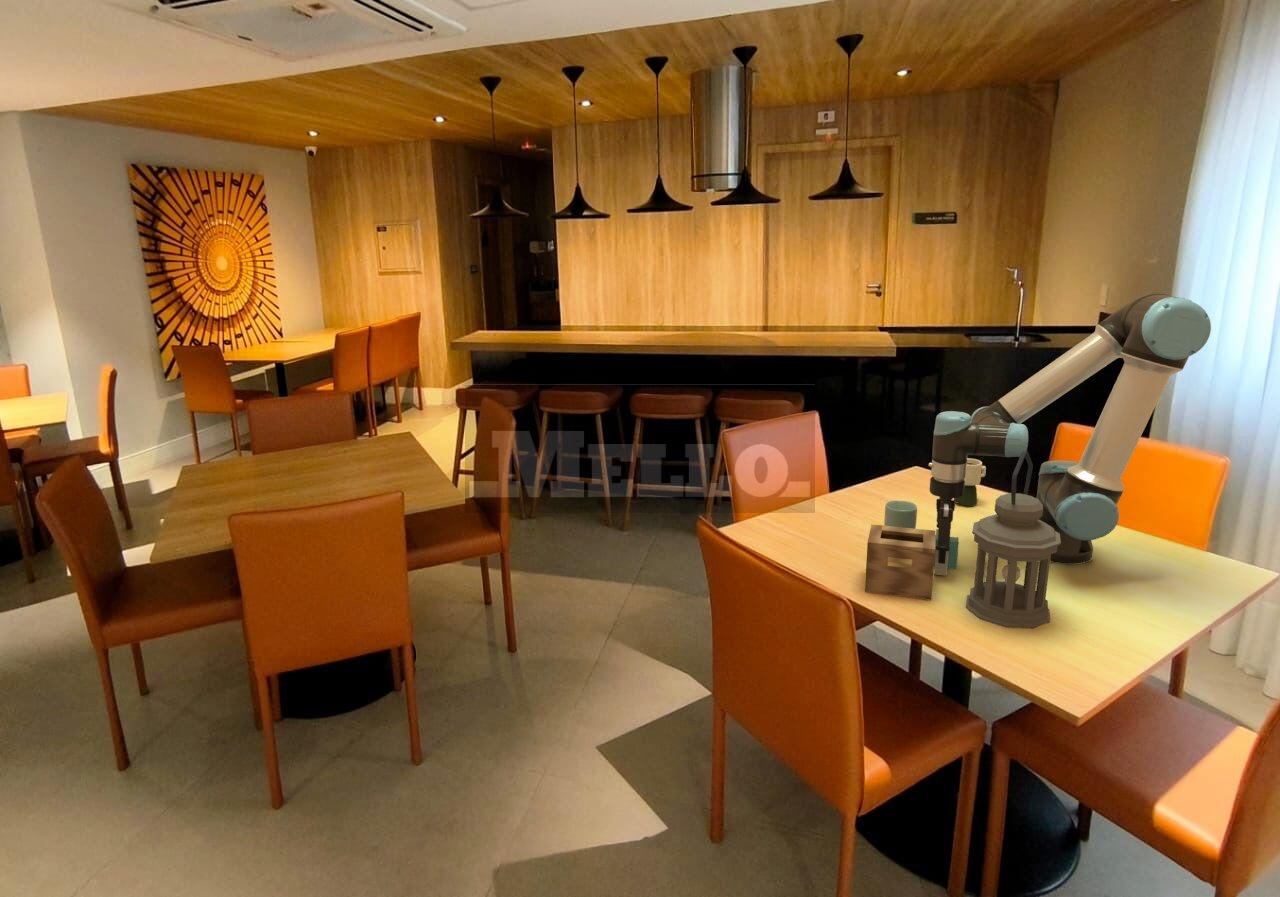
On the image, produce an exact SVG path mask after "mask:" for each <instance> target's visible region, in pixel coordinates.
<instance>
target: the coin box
mask: <svg viewBox="0 0 1280 897" xmlns="http://www.w3.org/2000/svg"><path fill="white" fill-rule="evenodd" d="M935 535H936V530H934V529H933V530H932V529H922V528H916V529H914V528H904V527H894V526H884V525H881V524H872V523H871V524H870V529H869V534H868V538H867V543H866V544H867V545H866V546H867V547H866V565H865V584H864V592H866V593H873V594H874V593H875V594H881V595H890V596H897V597H898V596H899V597H905V598H912V599H913V598H914V599H921V600H929V601H932V597H933V596H932V593H933V584H934V570H935V567H934V561H935Z"/></svg>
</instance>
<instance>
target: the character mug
mask: <svg viewBox="0 0 1280 897" xmlns="http://www.w3.org/2000/svg"><path fill="white" fill-rule="evenodd" d="M986 470H987V467H986V465H983V462H982V461H981V460H980V459H976V458H968V457H967V468H966V477H965V479H964V481H965V487H964V494H963V496H961V497H959V498H953V500H955V501H954V503H957V504H959V505H963V506H970V507H971V506H975V505H977V503H978V493H977V492H978V489H977V486H978V485H980V484H981V480H982V478H984V477H985V476H986Z"/></svg>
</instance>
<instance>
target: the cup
mask: <svg viewBox="0 0 1280 897" xmlns="http://www.w3.org/2000/svg"><path fill="white" fill-rule="evenodd" d="M917 515H918V506H917V504H915V503H914V502H912V501H908V500H890V501H887V502H886V503H885V507H884V522H883V523H884V525H883V526H894V527H904V528H914V529H917V528H916V527H917V521H918V520H917V517H918V516H917Z"/></svg>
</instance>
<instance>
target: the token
mask: <svg viewBox="0 0 1280 897" xmlns="http://www.w3.org/2000/svg"><path fill="white" fill-rule="evenodd" d="M937 544H938V535H936V534H935V546H937ZM959 545H960V544H959V537H957V536H950V544H949V548H950V550H949V555H948V567H947V570H948V569H949V570H957V566H958V564H957V563H958V555H959ZM935 559H936V549H935ZM934 568H935V561H934Z"/></svg>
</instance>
